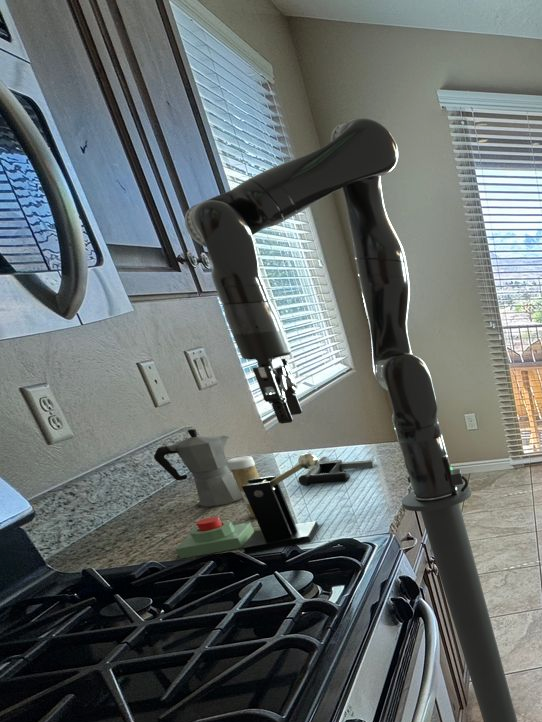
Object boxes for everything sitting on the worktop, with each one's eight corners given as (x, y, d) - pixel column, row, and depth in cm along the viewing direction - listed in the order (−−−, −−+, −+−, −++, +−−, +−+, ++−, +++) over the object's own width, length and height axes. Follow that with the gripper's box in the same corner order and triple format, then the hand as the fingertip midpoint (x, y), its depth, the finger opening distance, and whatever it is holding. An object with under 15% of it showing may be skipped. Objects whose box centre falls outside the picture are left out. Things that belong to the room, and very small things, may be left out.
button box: (254, 531, 121) (246, 514, 119) (242, 547, 113) (233, 529, 112) (196, 541, 117) (188, 524, 116) (180, 559, 110) (170, 540, 108)
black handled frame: (376, 452, 166) (312, 456, 161) (361, 471, 149) (290, 477, 144) (378, 462, 167) (316, 467, 162) (364, 483, 150) (294, 489, 145)
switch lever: (323, 461, 115) (310, 448, 114) (320, 465, 113) (307, 452, 111) (265, 497, 114) (251, 484, 112) (260, 502, 111) (246, 489, 109)
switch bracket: (318, 526, 122) (296, 469, 116) (310, 541, 115) (286, 482, 109) (257, 536, 118) (232, 479, 113) (245, 553, 111) (217, 492, 105)
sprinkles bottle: (256, 519, 127) (231, 462, 122) (247, 516, 129) (222, 460, 124) (278, 512, 131) (255, 456, 125) (269, 509, 133) (245, 454, 127)
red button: (225, 523, 116) (221, 515, 115) (219, 529, 113) (215, 521, 112) (203, 527, 115) (199, 519, 114) (197, 533, 112) (193, 525, 111)
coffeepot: (240, 489, 148) (210, 421, 140) (263, 492, 144) (233, 423, 137) (170, 511, 135) (133, 437, 127) (193, 515, 132) (157, 440, 124)
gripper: (272, 330, 98) (307, 422, 105) (290, 325, 109) (320, 408, 116) (219, 334, 95) (258, 429, 102) (243, 329, 107) (277, 414, 114)
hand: (291, 418), depth 109 cm, fingers open, 8 cm apart
